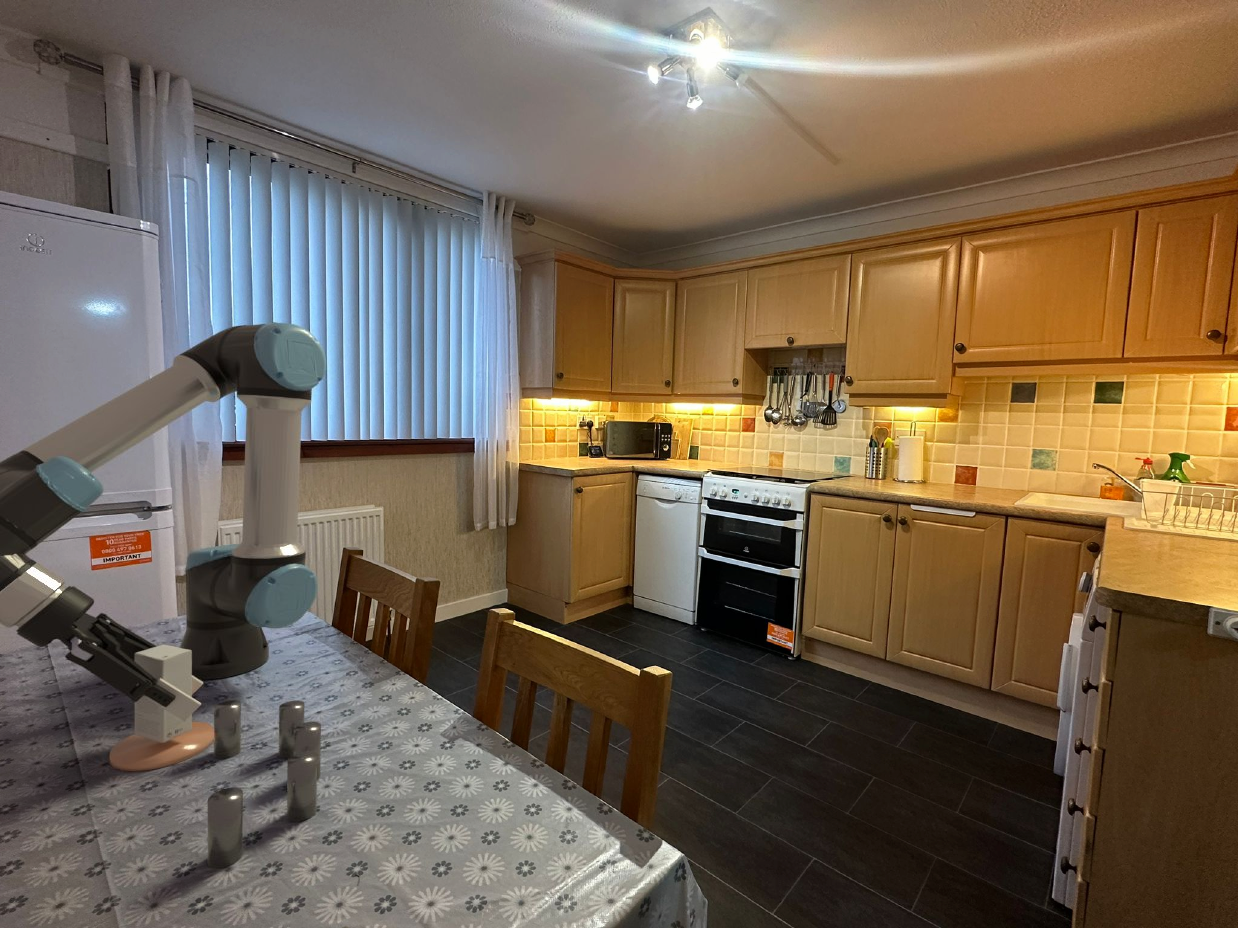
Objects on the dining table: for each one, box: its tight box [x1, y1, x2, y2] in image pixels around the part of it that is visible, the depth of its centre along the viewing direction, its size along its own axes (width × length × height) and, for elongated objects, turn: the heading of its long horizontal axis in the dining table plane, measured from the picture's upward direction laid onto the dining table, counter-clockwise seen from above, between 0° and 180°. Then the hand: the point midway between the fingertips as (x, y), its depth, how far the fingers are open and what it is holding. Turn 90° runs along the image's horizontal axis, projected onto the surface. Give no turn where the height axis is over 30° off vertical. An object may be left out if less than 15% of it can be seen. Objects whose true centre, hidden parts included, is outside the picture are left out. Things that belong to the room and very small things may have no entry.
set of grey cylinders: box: [207, 699, 322, 870], centre depth 76 cm, size 21×24×7 cm
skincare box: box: [134, 644, 193, 743], centre depth 85 cm, size 6×4×12 cm
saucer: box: [109, 720, 214, 772], centre depth 86 cm, size 12×12×1 cm
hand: (193, 700), depth 87 cm, fingers closed on skincare box, 7 cm apart
